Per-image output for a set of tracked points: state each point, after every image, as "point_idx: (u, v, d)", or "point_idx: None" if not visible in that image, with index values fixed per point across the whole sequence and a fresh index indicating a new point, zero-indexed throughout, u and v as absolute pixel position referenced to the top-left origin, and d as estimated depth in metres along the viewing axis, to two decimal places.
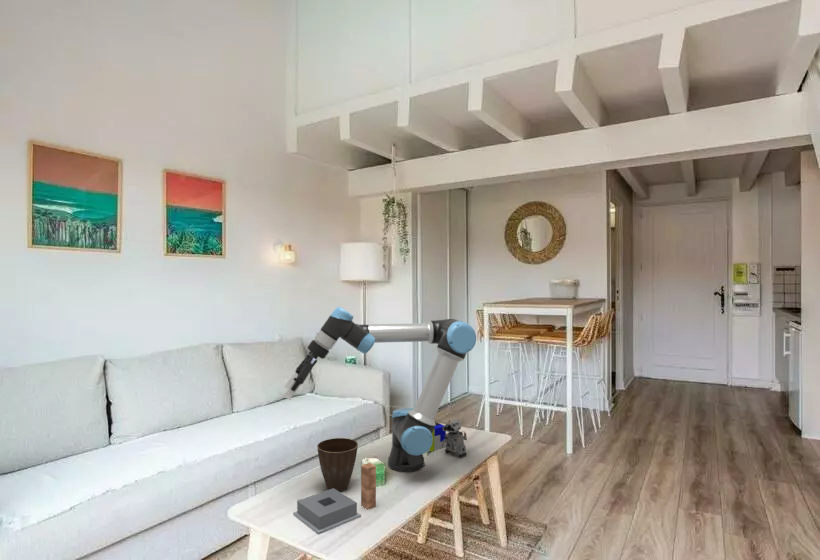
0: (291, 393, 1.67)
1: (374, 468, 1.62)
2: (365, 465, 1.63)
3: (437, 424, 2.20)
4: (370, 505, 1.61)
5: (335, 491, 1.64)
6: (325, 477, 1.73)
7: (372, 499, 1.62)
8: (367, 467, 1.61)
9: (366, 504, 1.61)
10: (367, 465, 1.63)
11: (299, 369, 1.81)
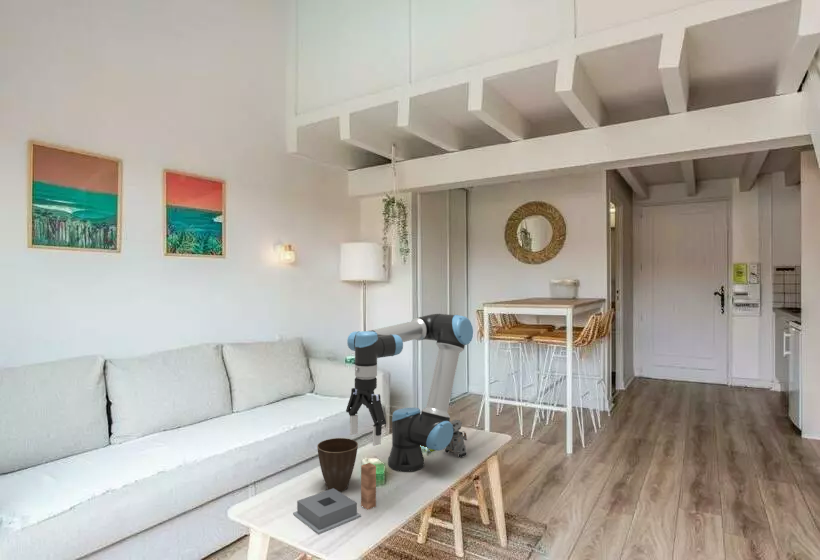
0: (378, 438, 1.58)
1: (374, 468, 1.62)
2: (365, 465, 1.63)
3: None
4: (370, 505, 1.61)
5: (335, 491, 1.64)
6: (325, 477, 1.73)
7: (372, 499, 1.62)
8: (367, 467, 1.61)
9: (366, 504, 1.61)
10: (367, 465, 1.63)
11: (354, 410, 1.67)
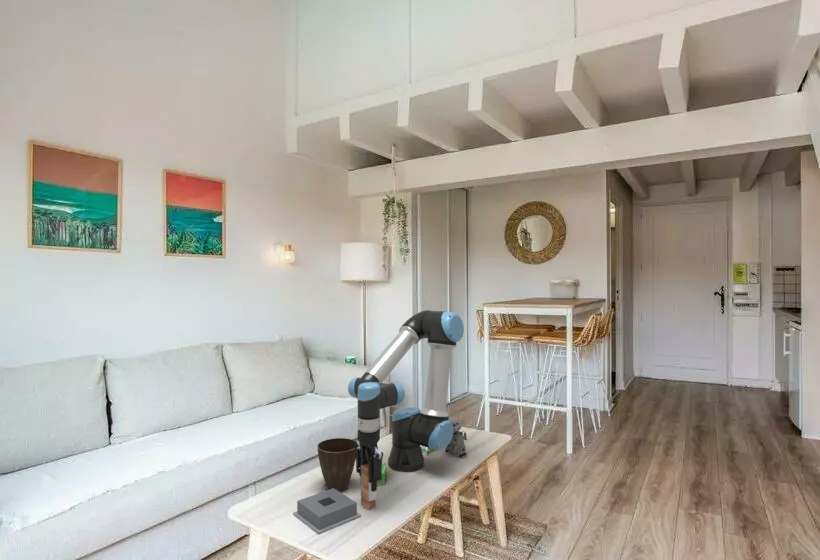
0: (374, 493, 1.62)
1: None
2: (365, 465, 1.63)
3: None
4: (370, 505, 1.61)
5: (335, 491, 1.64)
6: (325, 477, 1.73)
7: None
8: (367, 467, 1.61)
9: (366, 504, 1.61)
10: (367, 465, 1.63)
11: None
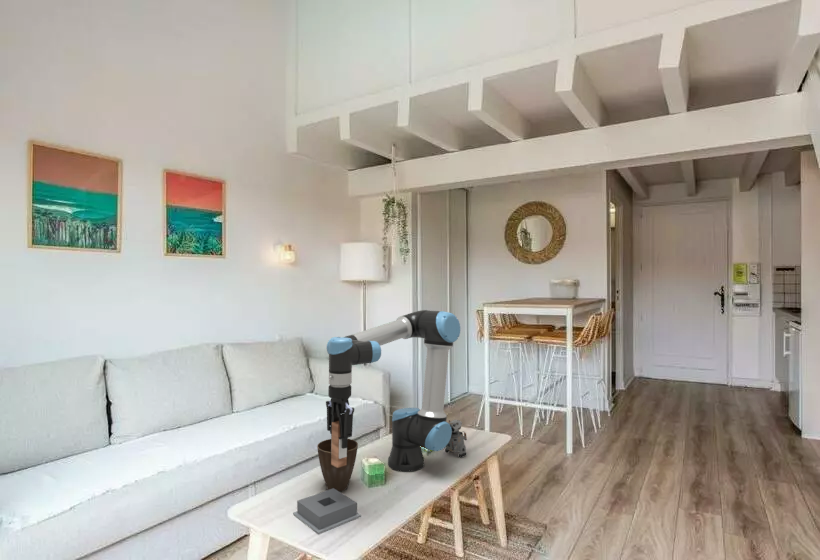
0: (344, 450, 1.56)
1: None
2: (336, 422, 1.58)
3: None
4: (340, 463, 1.56)
5: (335, 491, 1.64)
6: (325, 477, 1.73)
7: None
8: (338, 423, 1.56)
9: (336, 462, 1.56)
10: (338, 422, 1.58)
11: None
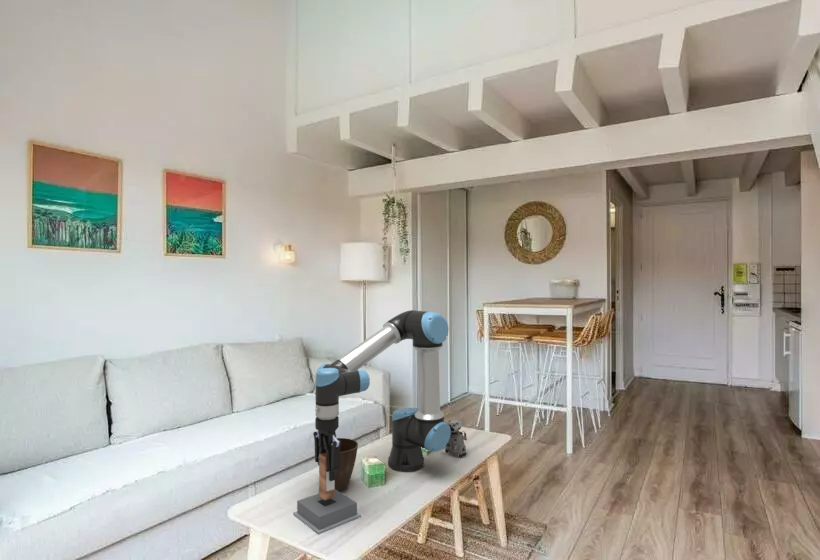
0: (332, 483, 1.55)
1: None
2: (323, 454, 1.57)
3: None
4: (327, 496, 1.55)
5: (335, 491, 1.64)
6: None
7: None
8: (325, 456, 1.55)
9: (323, 494, 1.55)
10: (325, 454, 1.57)
11: None
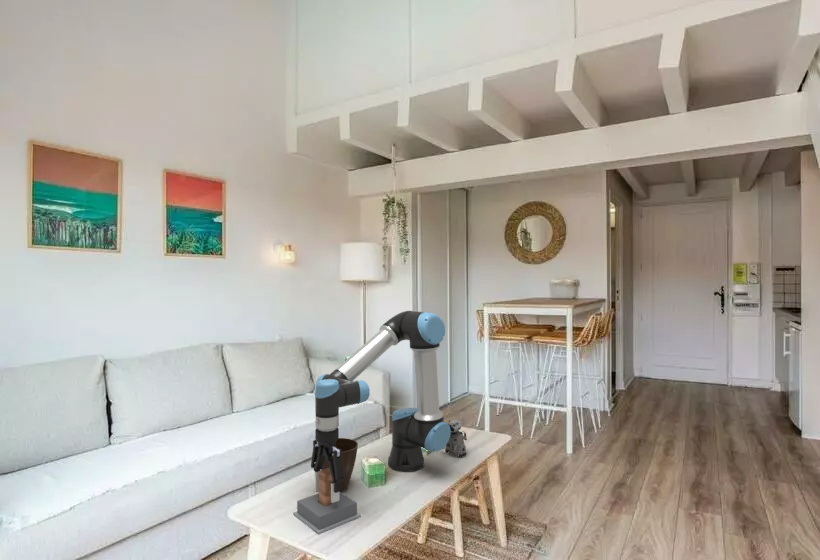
0: (337, 494, 1.53)
1: None
2: (323, 470, 1.57)
3: None
4: None
5: None
6: None
7: None
8: (324, 472, 1.55)
9: None
10: (325, 470, 1.57)
11: (318, 465, 1.59)
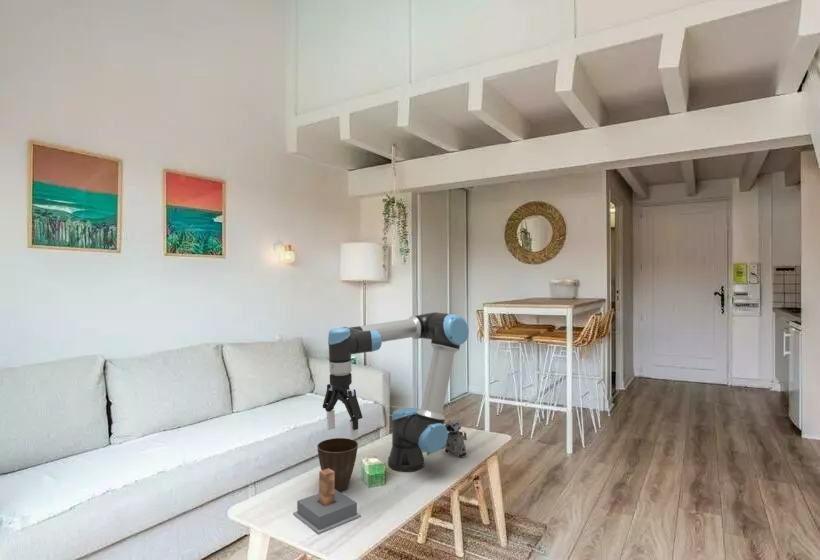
0: (355, 432, 1.61)
1: (332, 474, 1.56)
2: (323, 471, 1.57)
3: None
4: None
5: (335, 491, 1.64)
6: None
7: None
8: (325, 473, 1.55)
9: None
10: (325, 471, 1.57)
11: (330, 406, 1.69)
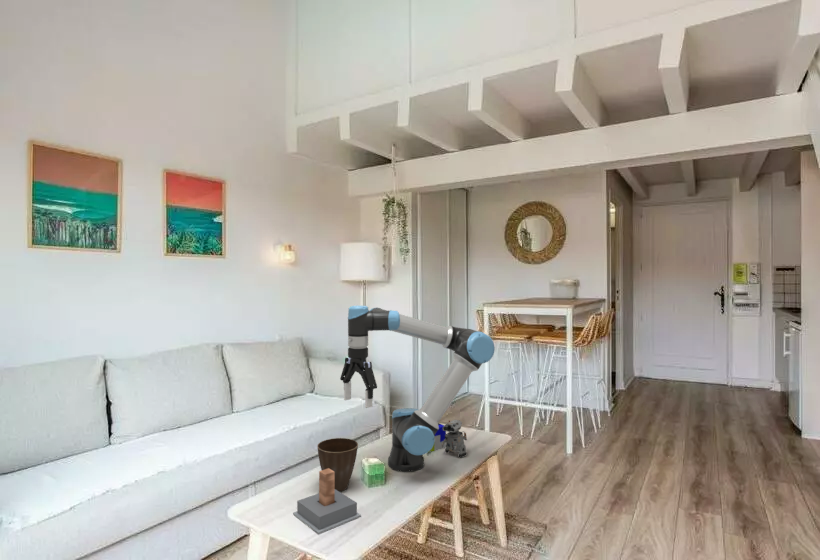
0: (370, 401, 1.74)
1: (332, 474, 1.56)
2: (323, 471, 1.57)
3: None
4: None
5: (335, 491, 1.64)
6: None
7: None
8: (325, 473, 1.55)
9: None
10: (325, 471, 1.57)
11: (347, 378, 1.83)
